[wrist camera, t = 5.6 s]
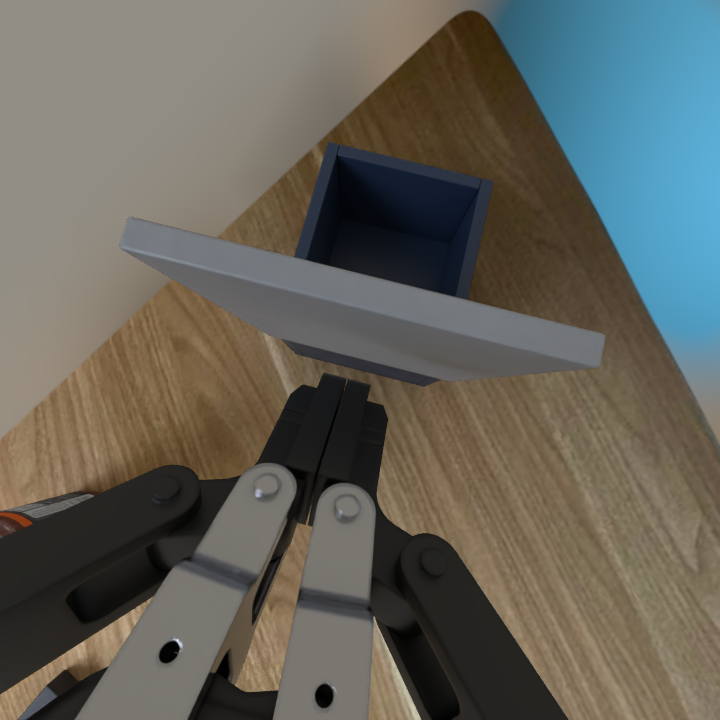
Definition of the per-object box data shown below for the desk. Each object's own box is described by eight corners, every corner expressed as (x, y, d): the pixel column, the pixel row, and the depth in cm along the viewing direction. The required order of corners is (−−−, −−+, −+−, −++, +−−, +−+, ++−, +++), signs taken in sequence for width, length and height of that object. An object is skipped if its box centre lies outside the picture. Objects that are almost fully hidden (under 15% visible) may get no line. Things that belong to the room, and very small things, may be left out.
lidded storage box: (335, 212, 33) (328, 140, 25) (457, 242, 33) (494, 180, 24) (295, 354, 32) (272, 330, 23) (424, 386, 31) (451, 376, 23)
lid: (126, 213, 9) (115, 247, 9) (608, 333, 8) (601, 369, 8) (272, 322, 22) (268, 335, 22) (454, 368, 22) (451, 381, 22)
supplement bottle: (123, 567, 29) (-24, 662, 18) (44, 570, 29) (-153, 669, 18) (126, 486, 30) (-11, 529, 19) (50, 489, 30) (-134, 534, 19)
